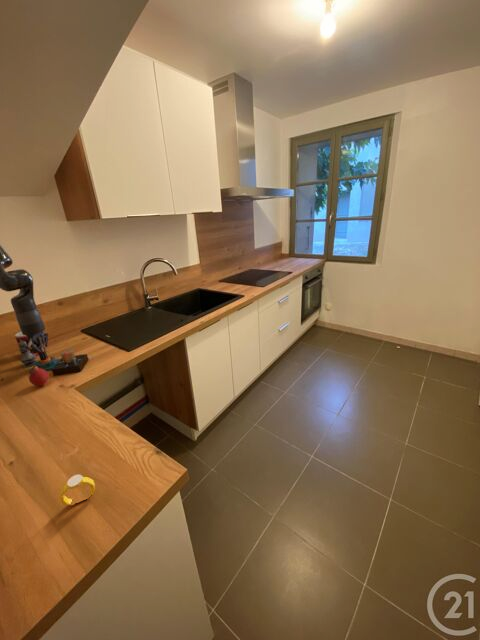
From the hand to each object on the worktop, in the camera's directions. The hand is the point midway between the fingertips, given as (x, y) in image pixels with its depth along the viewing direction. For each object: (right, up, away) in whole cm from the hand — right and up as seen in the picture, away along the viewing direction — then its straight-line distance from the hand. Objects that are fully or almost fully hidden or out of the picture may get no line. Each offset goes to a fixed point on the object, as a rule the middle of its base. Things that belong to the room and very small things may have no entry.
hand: (44, 359), depth 110 cm
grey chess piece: (-10, -3, +5) cm, 11 cm away
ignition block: (0, -4, +2) cm, 4 cm away
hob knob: (+12, -1, -1) cm, 12 cm away
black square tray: (+12, -4, 0) cm, 12 cm away
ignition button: (0, -2, +1) cm, 2 cm away
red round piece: (+8, -8, -11) cm, 16 cm away
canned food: (-16, 0, +14) cm, 21 cm away
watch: (+48, -23, -54) cm, 76 cm away
